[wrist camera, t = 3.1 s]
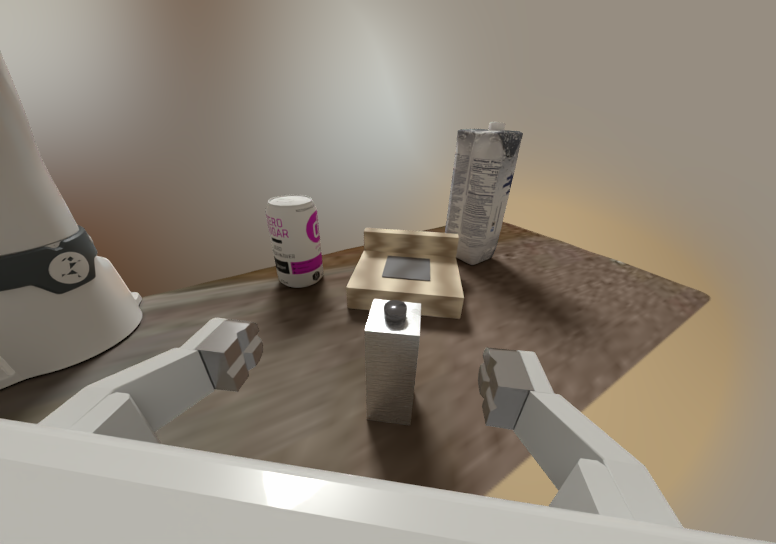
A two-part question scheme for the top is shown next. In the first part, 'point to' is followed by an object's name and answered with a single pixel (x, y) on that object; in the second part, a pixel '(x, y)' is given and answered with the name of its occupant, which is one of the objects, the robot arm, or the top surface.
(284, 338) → the top surface
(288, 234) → the supplement can
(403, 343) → the square capped bottle
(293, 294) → the top surface
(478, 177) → the juice carton
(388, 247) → the birch stand
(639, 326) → the top surface
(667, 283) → the top surface
